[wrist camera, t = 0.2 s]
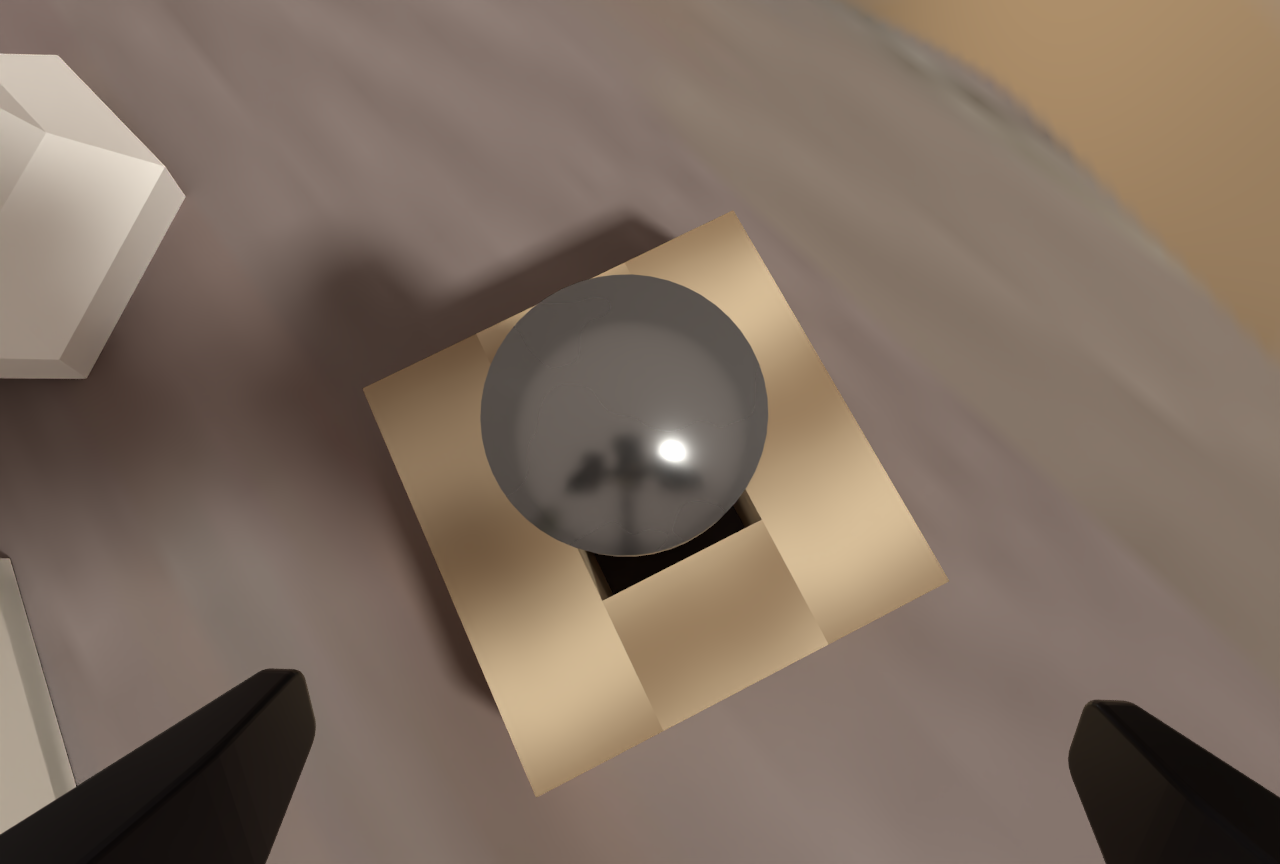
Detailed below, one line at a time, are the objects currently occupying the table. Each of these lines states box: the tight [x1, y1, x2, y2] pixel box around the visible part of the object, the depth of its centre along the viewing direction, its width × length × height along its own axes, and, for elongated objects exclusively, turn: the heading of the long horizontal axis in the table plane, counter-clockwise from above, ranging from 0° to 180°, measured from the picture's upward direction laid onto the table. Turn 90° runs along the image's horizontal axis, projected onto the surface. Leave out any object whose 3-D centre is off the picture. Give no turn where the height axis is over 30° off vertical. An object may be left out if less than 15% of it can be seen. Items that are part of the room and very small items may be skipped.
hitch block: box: [362, 211, 949, 797], centre depth 21 cm, size 12×12×4 cm
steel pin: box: [480, 274, 768, 556], centre depth 17 cm, size 4×4×12 cm
